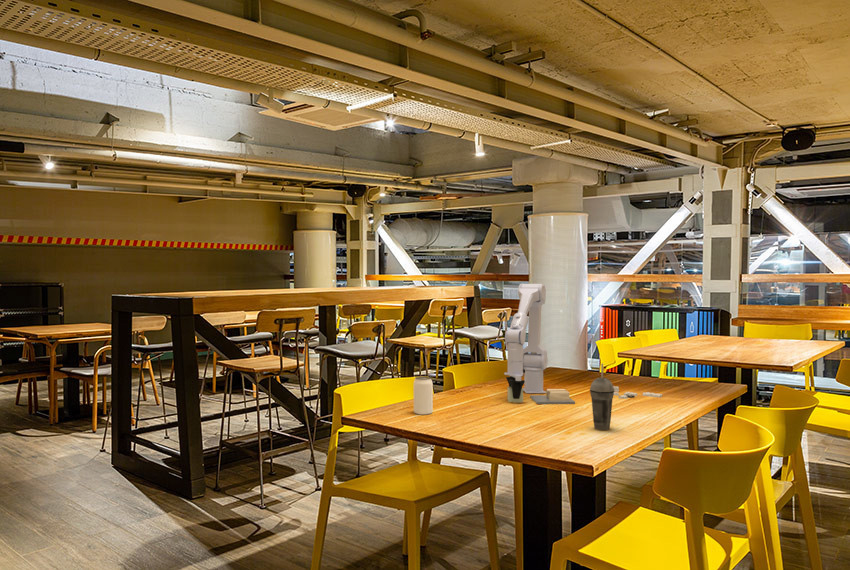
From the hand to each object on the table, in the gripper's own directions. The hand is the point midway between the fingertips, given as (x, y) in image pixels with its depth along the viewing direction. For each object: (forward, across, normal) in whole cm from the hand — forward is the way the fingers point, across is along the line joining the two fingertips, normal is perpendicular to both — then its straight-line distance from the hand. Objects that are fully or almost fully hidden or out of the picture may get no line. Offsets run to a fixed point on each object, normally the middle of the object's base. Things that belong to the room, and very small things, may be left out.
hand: (515, 397), depth 235 cm
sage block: (+1, 0, 0) cm, 1 cm away
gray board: (+1, 0, +14) cm, 14 cm away
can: (+2, +20, -35) cm, 40 cm away
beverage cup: (+2, +44, +19) cm, 48 cm away
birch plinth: (+1, 0, +16) cm, 16 cm away
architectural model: (+2, -9, +44) cm, 45 cm away
